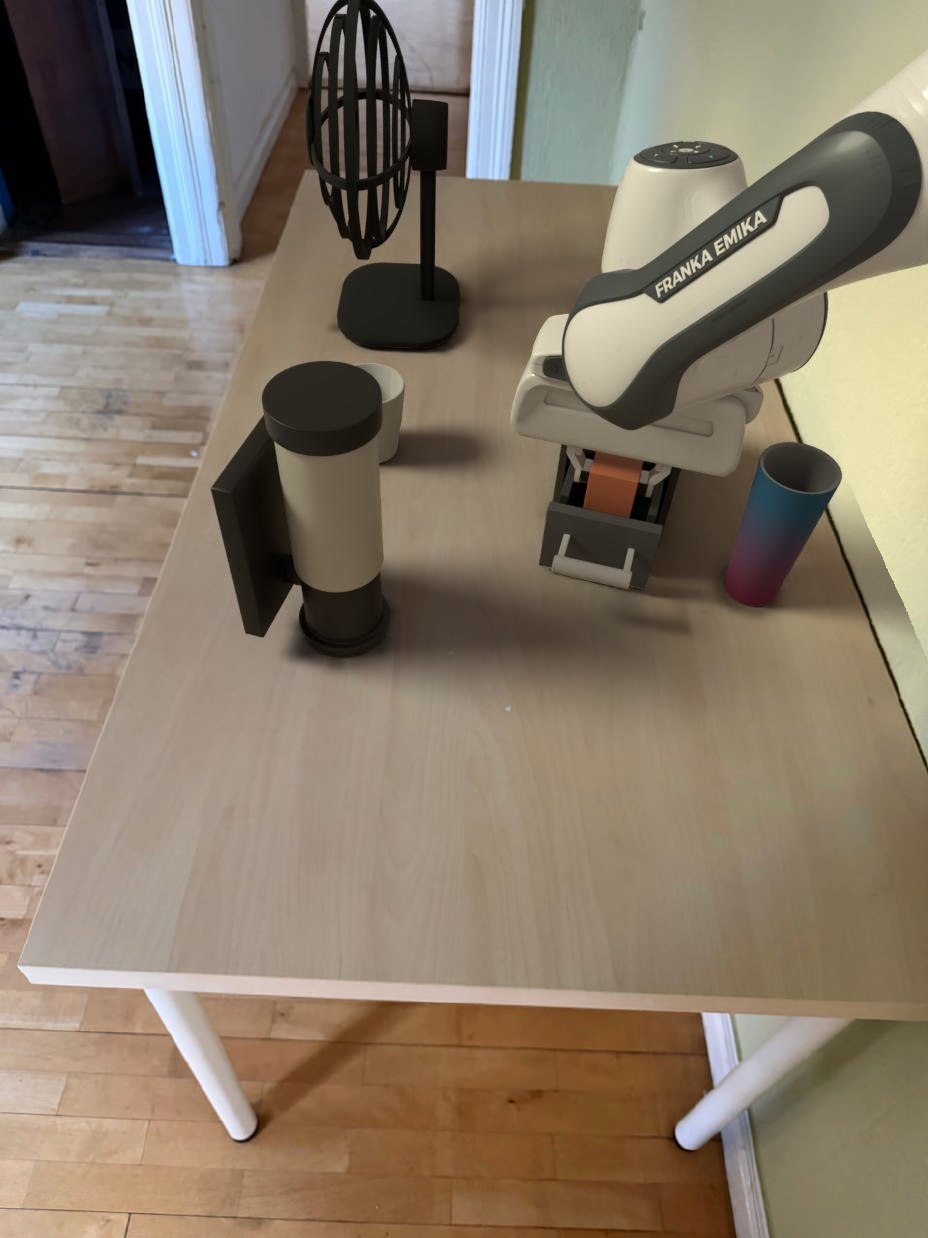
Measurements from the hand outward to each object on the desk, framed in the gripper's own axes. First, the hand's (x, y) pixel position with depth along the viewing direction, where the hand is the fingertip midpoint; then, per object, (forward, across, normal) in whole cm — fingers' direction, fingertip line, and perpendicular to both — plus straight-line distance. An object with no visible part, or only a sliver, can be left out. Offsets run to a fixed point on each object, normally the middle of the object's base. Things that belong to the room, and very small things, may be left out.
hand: (612, 485), depth 82 cm
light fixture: (+8, +22, +17) cm, 29 cm away
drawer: (+7, 0, +1) cm, 7 cm away
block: (+2, 0, 0) cm, 2 cm away
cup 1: (+8, +28, -7) cm, 30 cm away
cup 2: (+8, -15, +1) cm, 17 cm away
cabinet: (+8, 0, -11) cm, 14 cm away
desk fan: (+8, +34, -36) cm, 50 cm away
